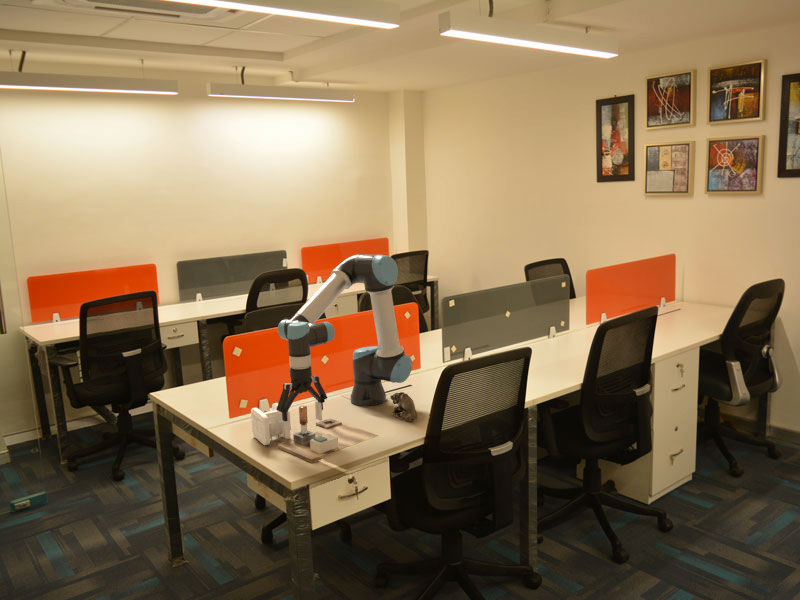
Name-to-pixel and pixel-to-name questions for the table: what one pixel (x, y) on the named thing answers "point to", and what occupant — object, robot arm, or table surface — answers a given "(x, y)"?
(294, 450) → the plywood panel
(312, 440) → the block
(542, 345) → the table surface
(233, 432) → the table surface
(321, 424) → the tool rest
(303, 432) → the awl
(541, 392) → the table surface
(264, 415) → the cable organizer
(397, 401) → the figurine
